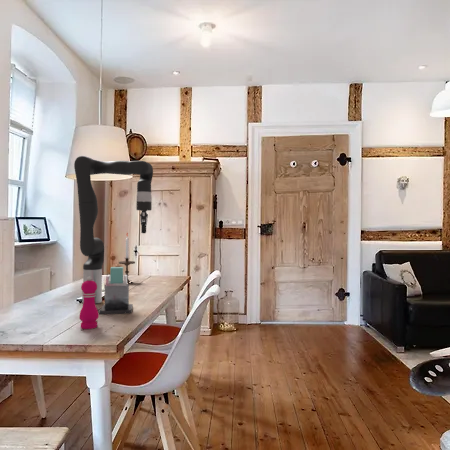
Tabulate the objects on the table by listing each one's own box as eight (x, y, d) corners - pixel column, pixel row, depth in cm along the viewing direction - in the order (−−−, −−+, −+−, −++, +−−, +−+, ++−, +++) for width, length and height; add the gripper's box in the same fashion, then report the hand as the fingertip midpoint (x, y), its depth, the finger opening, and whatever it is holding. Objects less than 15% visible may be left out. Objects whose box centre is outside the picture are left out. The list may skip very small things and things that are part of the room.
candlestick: (132, 284, 279) (133, 232, 278) (116, 283, 279) (117, 231, 279) (136, 281, 289) (136, 231, 289) (121, 281, 290) (121, 231, 289)
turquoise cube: (110, 283, 192) (110, 268, 192) (111, 281, 197) (111, 267, 197) (122, 283, 193) (122, 268, 193) (123, 281, 198) (123, 266, 198)
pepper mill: (87, 330, 159) (88, 278, 159) (75, 327, 163) (75, 276, 162) (102, 326, 165) (102, 276, 165) (90, 324, 169) (90, 274, 169)
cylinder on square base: (99, 314, 186) (99, 277, 186) (103, 307, 200) (103, 274, 200) (131, 313, 189) (131, 277, 189) (132, 307, 203) (132, 273, 203)
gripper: (137, 201, 217) (136, 232, 217) (135, 200, 203) (135, 233, 203) (151, 201, 218) (151, 232, 218) (151, 200, 204) (151, 233, 204)
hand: (143, 233), depth 210 cm, fingers open, 8 cm apart
